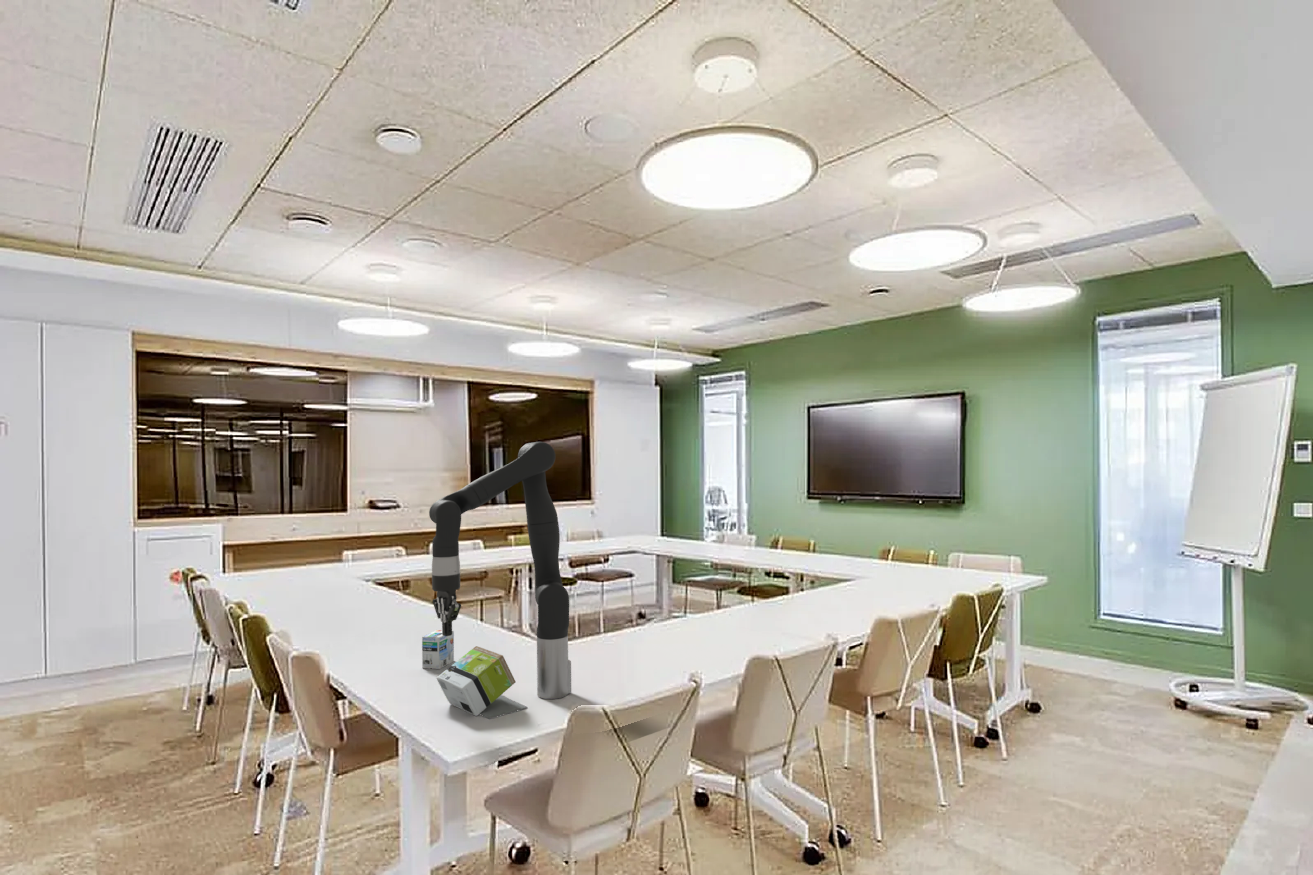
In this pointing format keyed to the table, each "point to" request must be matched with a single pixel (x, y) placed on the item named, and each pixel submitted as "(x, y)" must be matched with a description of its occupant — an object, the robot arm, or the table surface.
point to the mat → (501, 707)
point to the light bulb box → (437, 650)
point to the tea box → (476, 680)
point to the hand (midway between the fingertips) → (447, 635)
